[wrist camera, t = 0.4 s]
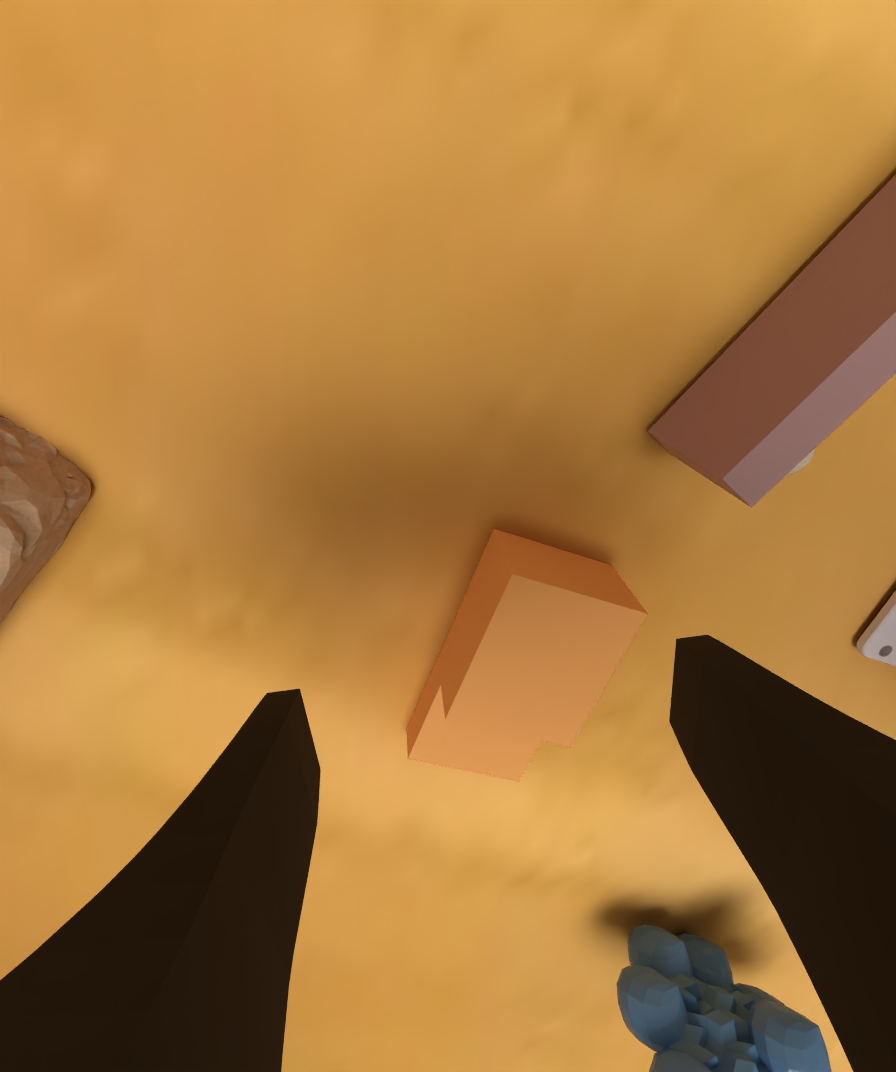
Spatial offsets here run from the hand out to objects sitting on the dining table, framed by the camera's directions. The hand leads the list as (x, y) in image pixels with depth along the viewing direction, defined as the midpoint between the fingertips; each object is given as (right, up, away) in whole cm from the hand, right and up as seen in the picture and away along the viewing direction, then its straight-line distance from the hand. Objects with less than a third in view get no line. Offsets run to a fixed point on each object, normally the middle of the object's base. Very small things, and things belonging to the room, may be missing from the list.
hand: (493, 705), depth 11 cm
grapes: (+12, -17, +19) cm, 28 cm away
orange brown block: (+1, -1, +11) cm, 11 cm away
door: (+11, +11, +6) cm, 16 cm away
